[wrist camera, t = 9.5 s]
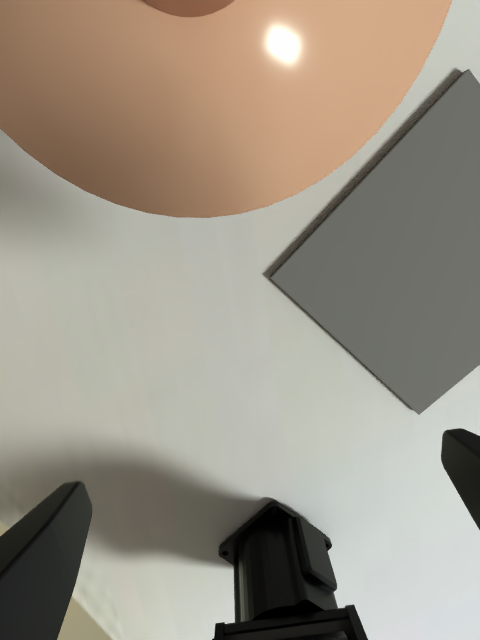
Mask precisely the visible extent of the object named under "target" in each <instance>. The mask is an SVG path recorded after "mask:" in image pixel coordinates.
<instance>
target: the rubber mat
mask: <svg viewBox="0 0 480 640" xmlns="http://www.w3.org/2000/svg"><path fill="white" fill-rule="evenodd" d="M270 278H271V279H272V280H273V281H274V282H275V283H276V284H277V285H278V286H279V287H280V288H281V289H283V290H284V291H285V292H286V293H287V294H288V295H289V296H290V297H291V298H292V299H293V300H295V301H296V302H297V303H298V304H299V305H300V306H301V307H302V308H303V309H304V310H305V311H306V312H308V313H309V314H310V315H311V316H312V317H313V318H314V319H315V320H316V321H317V322H318V323H320V324H321V325H322V326H323V327H324V328H325V329H326V330H327V331H328V332H329V333H330V334H331V335H333V336H334V337H335V338H336V339H337V340H338V341H339V342H340V343H341V344H342V345H343V346H345V347H346V348H347V349H348V350H349V351H350V352H351V353H352V354H353V355H354V356H355V357H356V358H358V359H359V360H360V361H361V362H362V363H363V364H364V365H365V366H366V367H367V368H368V369H370V370H371V371H372V372H373V373H374V374H375V375H376V376H377V377H378V378H379V379H380V380H381V381H383V382H384V383H385V384H386V385H387V386H388V387H389V388H390V389H391V390H392V391H393V392H395V393H396V394H397V395H398V396H399V397H400V398H401V399H402V400H403V401H404V402H405V403H407V404H408V405H409V406H410V407H411V408H412V409H413V410H414V411H415V412H416V413H417V414H418V415H419V414H420V413H422V412H423V411H424V410H425V409H427V408H428V407H429V406H430V405H431V404H433V403H434V402H435V401H436V400H437V399H439V398H440V397H441V396H442V395H443V394H445V393H446V392H447V391H448V390H450V389H451V388H452V387H453V386H454V385H456V384H457V383H458V382H459V381H460V380H462V379H463V378H464V377H465V376H466V375H468V374H469V373H470V372H471V371H473V370H474V369H475V368H476V367H477V366H479V365H480V84H479V82H478V81H477V80H476V78H475V77H474V75H473V74H472V73H471V71H470V70H469V69H468V70H466V71H464V72H463V73H462V74H461V75H460V76H459V77H458V78H457V79H456V80H455V81H454V82H453V84H452V85H451V86H450V87H449V88H448V89H447V90H446V91H445V92H444V93H443V94H442V95H441V96H440V97H439V98H438V99H437V101H436V102H435V103H434V104H433V105H432V106H431V107H430V108H429V109H428V110H427V111H426V112H425V113H424V114H423V115H422V116H421V117H420V119H419V120H418V121H417V122H416V123H415V124H414V125H413V126H412V127H411V128H410V129H409V130H408V131H407V132H406V133H405V134H404V135H403V137H402V138H401V139H400V140H399V141H398V142H397V143H396V144H395V145H394V146H393V147H392V148H391V149H390V150H389V151H388V152H387V154H386V155H385V156H384V157H383V158H382V159H381V160H380V161H379V162H378V163H377V164H376V165H375V166H374V167H373V168H372V169H371V170H370V172H369V173H368V174H367V175H366V176H365V177H364V178H363V179H362V180H361V181H360V182H359V183H358V184H357V185H356V186H355V187H354V188H353V190H352V191H351V192H350V193H349V194H348V195H347V196H346V197H345V198H344V199H343V200H342V201H341V202H340V203H339V204H338V205H337V207H336V208H335V209H334V210H333V211H332V212H331V213H330V214H329V215H328V216H327V217H326V218H325V219H324V220H323V221H322V222H321V223H320V225H319V226H318V227H317V228H316V229H315V230H314V231H313V232H312V233H311V234H310V235H309V236H308V237H307V238H306V239H305V240H304V241H303V243H302V244H301V245H300V246H299V247H298V248H297V249H296V250H295V251H294V252H293V253H292V254H291V255H290V256H289V257H288V258H287V259H286V261H285V262H284V263H283V264H282V265H281V266H280V267H279V268H278V269H277V270H276V271H275V272H274V273H273V274H272V275H271V276H270Z"/></svg>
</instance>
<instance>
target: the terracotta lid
mask: <svg viewBox="0 0 480 640" xmlns="http://www.w3.org/2000/svg"><path fill="white" fill-rule="evenodd" d="M451 3H452V0H0V129H1V130H3V131H4V132H5V133H6V134H7V135H8V136H9V137H10V138H11V139H12V140H13V141H14V142H15V143H17V144H18V145H19V146H20V147H21V148H22V149H23V150H24V151H25V152H27V153H28V154H29V155H31V156H32V157H33V158H35V159H36V160H37V161H39V162H40V163H41V164H43V165H44V166H46V167H47V168H48V169H50V170H51V171H52V172H54V173H55V174H57V175H59V176H60V177H62V178H64V179H65V180H67V181H69V182H71V183H72V184H74V185H76V186H78V187H79V188H81V189H83V190H85V191H87V192H89V193H91V194H94V195H96V196H98V197H101V198H103V199H105V200H108V201H110V202H113V203H115V204H118V205H121V206H125V207H128V208H132V209H135V210H139V211H142V212H146V213H152V214H159V215H166V216H172V217H194V218H210V217H218V216H226V215H234V214H240V213H244V212H247V211H251V210H255V209H259V208H262V207H266V206H269V205H272V204H274V203H276V202H279V201H281V200H284V199H286V198H288V197H291V196H293V195H296V194H298V193H299V192H301V191H303V190H305V189H306V188H308V187H310V186H311V185H313V184H315V183H317V182H318V181H320V180H322V179H323V178H325V177H326V176H328V175H329V174H330V173H332V172H333V171H334V170H335V169H337V168H338V167H339V166H341V165H342V164H343V163H345V162H346V161H347V160H349V159H350V158H351V157H352V156H353V155H354V154H355V153H356V152H357V151H358V150H359V149H360V148H361V147H362V146H363V145H364V144H365V143H366V142H367V141H369V140H370V139H371V138H372V137H373V136H374V135H375V134H376V133H377V131H378V130H379V129H380V128H381V126H382V125H383V124H384V123H385V121H386V120H387V119H388V118H389V117H390V115H391V114H392V113H393V112H394V110H395V109H396V108H397V107H398V105H399V104H400V103H401V101H402V100H403V98H404V96H405V95H406V93H407V92H408V90H409V89H410V87H411V86H412V84H413V82H414V81H415V79H416V78H417V76H418V75H419V73H420V72H421V70H422V68H423V66H424V64H425V62H426V60H427V58H428V56H429V54H430V52H431V50H432V48H433V46H434V44H435V42H436V40H437V38H438V36H439V34H440V31H441V29H442V26H443V24H444V21H445V18H446V16H447V13H448V10H449V8H450V5H451Z"/></svg>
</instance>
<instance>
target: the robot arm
mask: <svg viewBox="0 0 480 640" xmlns="http://www.w3.org/2000/svg"><path fill="white" fill-rule="evenodd" d="M441 460H442V464H443V467H444V469H445V470H446V472H447V474H448V476H449V477H450V479H451V481H452V483H453V484H454V486H455V488H456V490H457V491H458V493H459V495H460V497H461V499H462V500H463V502H464V504H465V506H466V507H467V509H468V511H469V513H470V514H471V516H472V518H473V520H474V521H475V523H476V525H477V526H478V528H479V530H480V436H478V435H476V434H474V433H471V432H469V431H467V430H465V429H460V428H459V429H451V430H446V431H445V432H444V433H443V437H442V451H441ZM91 517H92V504H91V501H90V499H89V496H88V493H87V490H86V487H85V485H84V483H83V482H82V481H72V482H66V483H64V484H62V485H61V486H60V487H59V488H57V489H56V490H55V491H54V492H53V493H51V494H50V495H49V496H48V497H47V498H46V499H44V500H43V501H42V502H41V503H40V504H38V505H37V506H36V507H35V508H34V509H32V510H31V511H30V512H29V513H28V514H27V515H25V516H24V517H23V518H22V519H21V520H19V521H18V522H17V523H16V524H15V525H13V526H12V527H11V528H10V529H9V530H7V531H6V532H5V533H4V534H3V535H2V536H0V640H57V638H58V634H59V632H60V629H61V626H62V623H63V620H64V617H65V614H66V611H67V608H68V605H69V602H70V599H71V596H72V593H73V590H74V587H75V583H76V580H77V576H78V572H79V568H80V564H81V559H82V555H83V551H84V547H85V542H86V538H87V534H88V530H89V526H90V521H91ZM331 547H332V544H331V541H330V539H329V538H328V537H327V536H326V535H324V534H323V533H322V532H321V531H320V530H319V529H317V528H316V527H314V526H313V525H311V524H310V523H309V522H307V521H306V520H304V519H303V518H301V517H300V516H297V515H296V514H294V513H293V512H291V511H290V510H289V509H287V508H286V507H284V506H283V505H281V504H280V503H278V502H271V503H269V504H268V505H267V506H266V507H264V508H263V509H262V510H261V511H260V512H259V513H257V514H256V515H255V516H254V517H253V518H252V519H250V520H249V521H248V522H247V523H246V524H245V525H243V526H242V527H241V528H240V529H239V530H238V531H236V532H235V533H234V534H233V535H232V536H231V537H229V538H228V539H227V540H226V541H225V542H224V543H222V544H221V545H220V546H219V556H220V557H222V558H223V559H225V560H227V561H228V562H230V563H231V564H233V565H234V599H235V623H229V624H225V623H224V622H222V623H216V625H215V636H214V639H212V640H368V639H367V636H366V634H365V631H364V629H363V626H362V624H361V621H360V619H359V616H358V614H357V611H356V609H355V606H354V605H347V606H345V608H338V607H337V603H336V600H335V596H334V591H335V590H336V589H337V583H336V579H335V576H334V572H333V569H332V565H331V562H330V559H329V555H328V552H327V551H328V550H329V549H330V548H331Z"/></svg>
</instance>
